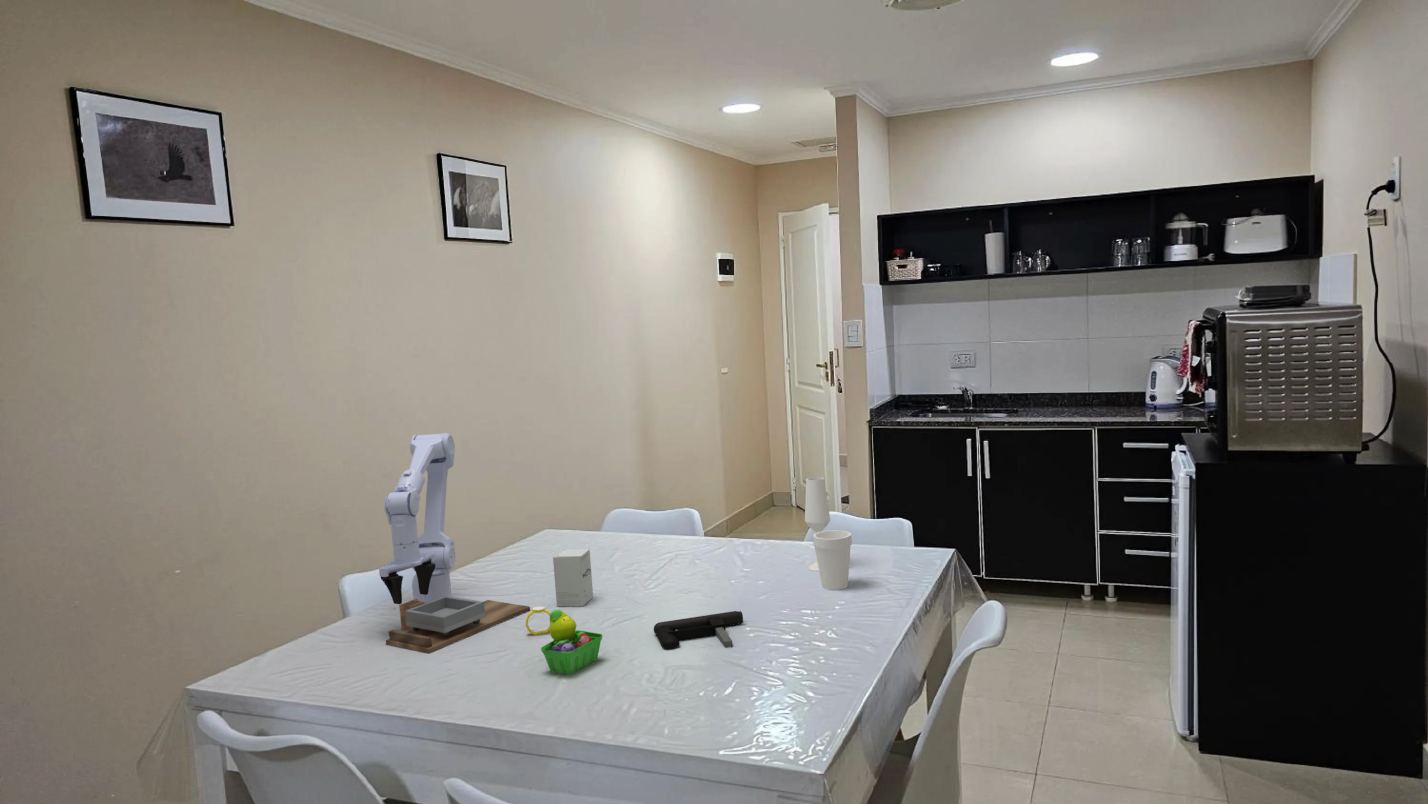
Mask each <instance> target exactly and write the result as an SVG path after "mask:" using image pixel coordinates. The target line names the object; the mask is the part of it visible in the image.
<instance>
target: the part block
mask: <svg viewBox="0 0 1428 804" xmlns="http://www.w3.org/2000/svg"><path fill="white" fill-rule="evenodd" d="M422 604H424V602H422V601H416V600H414V599H412V600H409V601H407V602H402V604H398V605H399V607H398V608H399V615H400V616H399V617H400V625H401V626H400V627H401V631H405V632H408V631H410V630H413V627H410V626H406V617H405V611H406V610H409V609H411V608H414V607H417V606H419V605H422Z"/></svg>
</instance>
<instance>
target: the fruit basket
mask: <svg viewBox="0 0 1428 804" xmlns="http://www.w3.org/2000/svg"><path fill="white" fill-rule="evenodd" d="M550 613H551V614H550V616H549V626H550V627H549V635H550V637H551V638H552V641H550V642H549V643H547V644H545V645H543V646H542V647H540V651H541V653H543V656H544V658H545V660H546V664H547V665H548V666H547V667H548V668H549V671H550V672H555V673H559V674H563V673H566V675H568V674H569V675H571V673H572V674H573V673H575V672H576V670H577V671H578V670H580V668H581V669H582V668H583V667H586V666H588V665H590V664H592V663H593V662H595V661H596V660H598V657H599V651H600V649H601V641H602V640H603V636H604V635H603V634H602V633H597V632H592V631H587V630H586V631H585V630H579V629H577V622H576V621H575V620H574V619H573V618H572V617H571V616H570V615H568V614H567V613H566V612H565V611H563V610H560V609H554V610H552V612H550ZM576 629H577V630H576Z"/></svg>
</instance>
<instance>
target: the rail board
mask: <svg viewBox="0 0 1428 804" xmlns="http://www.w3.org/2000/svg"><path fill="white" fill-rule="evenodd" d="M483 602H484V607H485V617H483V618H480V622H479V624H474V623H473V622H471V623H468V624H466V625H463V626H461V627H458V628H456V629H454V630H451V631H450V635H449V636H448V637H444V636H443V635H442V632H437V631H432V630H426V629H421V628H420V630H419V631H414V630H410V631H402V630H400V631H399V630H395V629H391V630H388V636H389V638H387V639H386V640H385V645H387V646H393V647H395V648H396V647H397V648H401V649H402V648H403V649H407V650H411V651H416V652H421V653H425V654H432V653H433V652H436V651H438V650H440V649H443V648H445V646H446V647H448V646H450V645H453V644H455V643H457V642H459V640H460V641H461V639H462V640H464V639H466V637H467V638H469V637H470V635H471V636H474V635H476V634H479V633H481V632H483V631H485V630H484V629H486V628H488V629H489V627H490V628H492V627H491V626H493V625H495V626H497V625H499V624H498V623H500V622H502V623H504V622H506V620H507V621H508V619H509V620H511V619H513V618H512V617H514V616H516V615H518V616H520V614H521V615H523V614H526V613H527V612H526V611H528V612H530V611H531V607H530V606H529V605H522V604H516V603H510V602H504V601H503V602H502V601H497V600H490V599H487V600H484V601H483ZM529 610H530V611H529ZM522 613H523V614H522ZM516 617H517V616H516ZM510 618H511V619H510ZM514 618H515V617H514ZM503 621H504V622H503ZM496 624H497V625H496ZM500 624H501V623H500ZM493 627H494V626H493ZM482 630H483V631H482ZM486 630H487V629H486ZM480 631H481V632H480ZM478 632H479V633H478ZM473 634H474V635H473ZM468 636H469V637H468ZM463 638H464V639H463ZM454 642H455V643H454ZM447 645H448V646H447Z"/></svg>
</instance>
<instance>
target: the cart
mask: <svg viewBox="0 0 1428 804" xmlns="http://www.w3.org/2000/svg"><path fill="white" fill-rule="evenodd" d="M405 617H406V626H410V627H413V630H414V631H419V630H420V628H421V629H426V630H432V631H437V632H442V635H443V636H444V637H448V636H449V635H450V631H451V630H454V629H456V628H458V627H461V626H463V625H466V624H468V623H471V622H473V623H474V624H479V622H480V618H483V617H485V607H484V601H481V600H474V599H470V598H469V599H468V598H463V597H455V596H452V597H450V596H444V597H441V598H439V599H436V600H433V601H430V602H428V603H425V604H422V605H419V606H417V607H414V608H411V609H409V610H406V611H405Z"/></svg>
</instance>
